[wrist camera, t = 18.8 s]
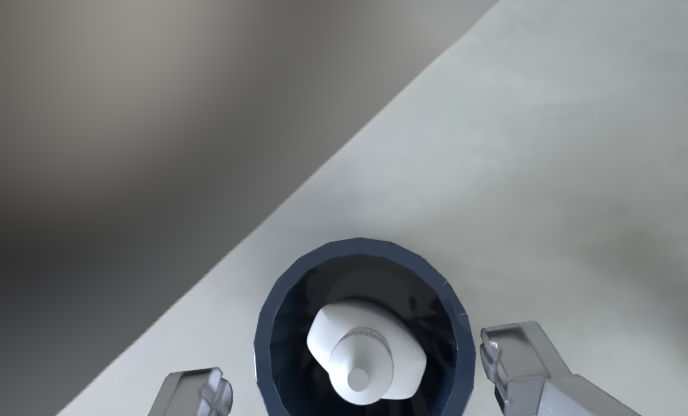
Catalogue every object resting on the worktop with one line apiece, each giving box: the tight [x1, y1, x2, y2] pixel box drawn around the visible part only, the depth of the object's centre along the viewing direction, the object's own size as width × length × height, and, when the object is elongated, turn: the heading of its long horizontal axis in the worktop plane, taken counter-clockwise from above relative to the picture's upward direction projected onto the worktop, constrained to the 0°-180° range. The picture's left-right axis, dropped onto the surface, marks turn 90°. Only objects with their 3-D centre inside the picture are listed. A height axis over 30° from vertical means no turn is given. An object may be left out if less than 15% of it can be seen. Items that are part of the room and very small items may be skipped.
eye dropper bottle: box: [307, 298, 426, 405], centre depth 16 cm, size 4×6×12 cm
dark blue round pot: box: [253, 238, 476, 416], centre depth 19 cm, size 10×10×8 cm
